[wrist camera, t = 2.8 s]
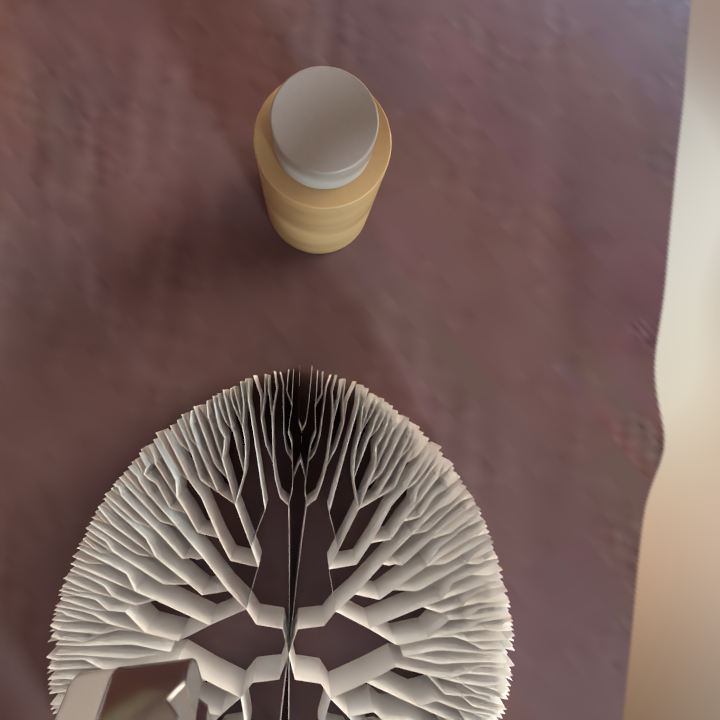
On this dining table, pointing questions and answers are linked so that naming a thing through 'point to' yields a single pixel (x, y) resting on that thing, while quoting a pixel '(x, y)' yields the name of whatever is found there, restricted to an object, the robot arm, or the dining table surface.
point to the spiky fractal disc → (400, 546)
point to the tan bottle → (321, 157)
